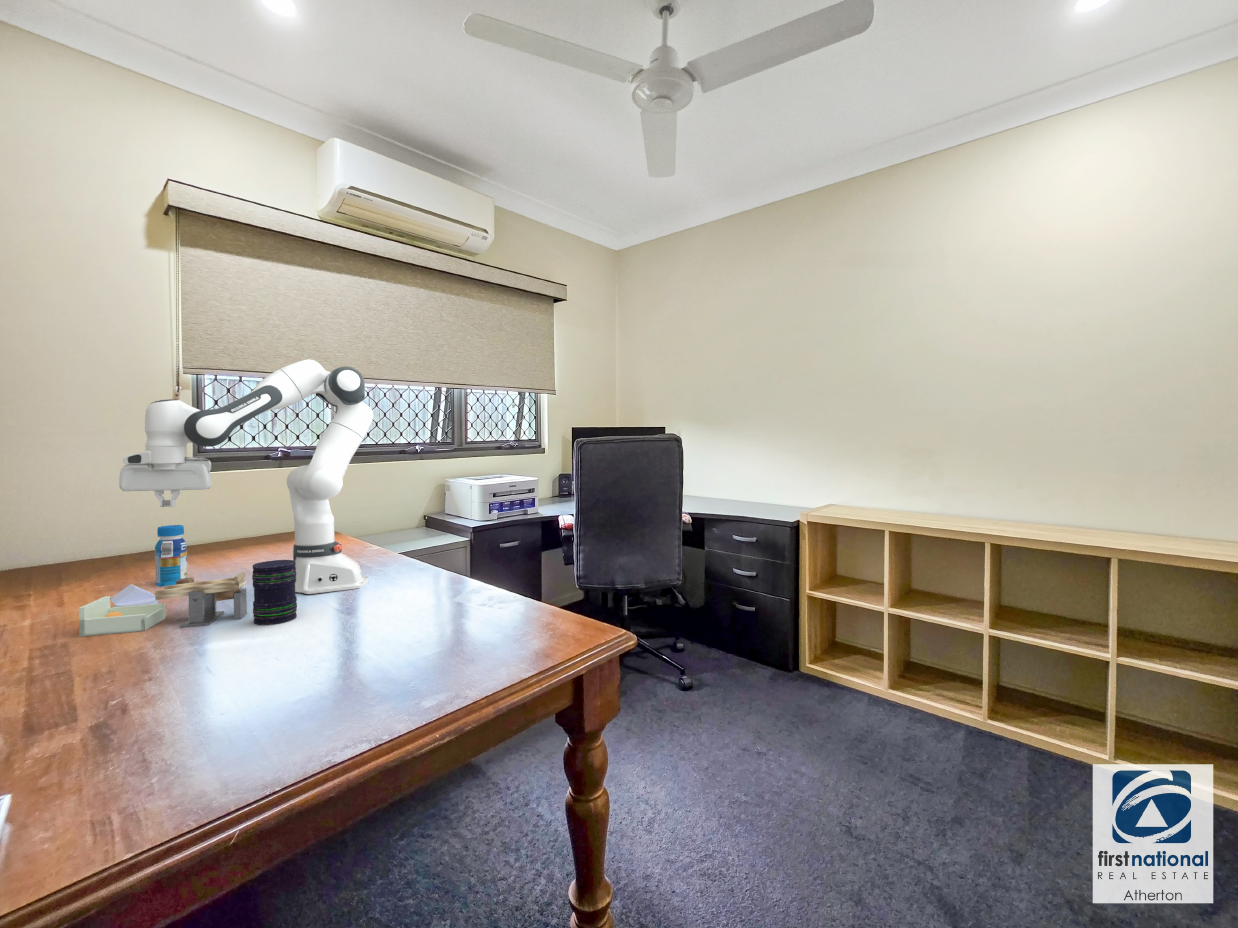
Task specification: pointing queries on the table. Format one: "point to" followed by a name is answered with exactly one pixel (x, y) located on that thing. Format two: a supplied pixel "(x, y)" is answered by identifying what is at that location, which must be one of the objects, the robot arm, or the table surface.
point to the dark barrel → (274, 592)
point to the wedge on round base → (133, 597)
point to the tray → (118, 617)
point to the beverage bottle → (170, 555)
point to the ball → (113, 614)
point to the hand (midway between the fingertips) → (167, 506)
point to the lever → (204, 588)
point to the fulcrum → (212, 608)
